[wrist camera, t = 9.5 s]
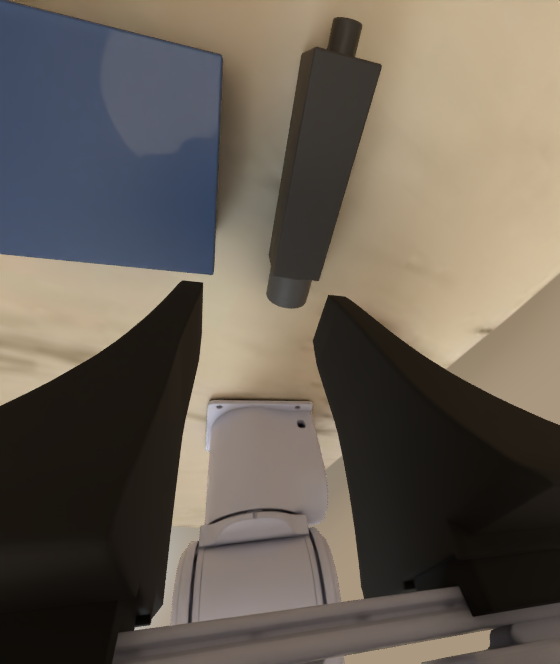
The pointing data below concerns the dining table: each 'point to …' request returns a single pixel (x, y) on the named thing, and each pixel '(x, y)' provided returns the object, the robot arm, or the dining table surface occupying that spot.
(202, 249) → the blue box
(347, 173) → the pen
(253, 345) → the dining table surface
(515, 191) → the dining table surface
